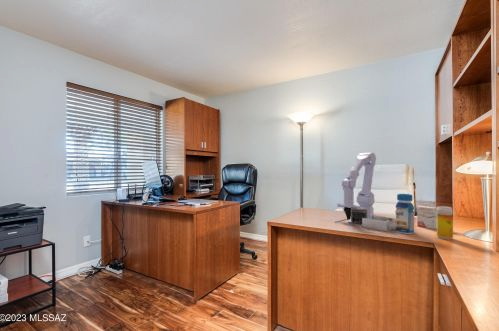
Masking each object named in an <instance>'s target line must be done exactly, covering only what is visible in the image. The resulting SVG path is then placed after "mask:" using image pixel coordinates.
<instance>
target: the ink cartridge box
mask: <svg viewBox="0 0 499 331" xmlns="http://www.w3.org/2000/svg"><path fill="white" fill-rule="evenodd" d="M416 209H417V210H416V211H417V216H416V217H417V218H416V223H417V227H419V228H427V229H433V230H434V229H437V202H436V201H432V200H431V201H430V200H419V201H418V206H417V208H416Z"/></svg>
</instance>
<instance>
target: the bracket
mask: <svg viewBox="0 0 499 331" xmlns="http://www.w3.org/2000/svg"><path fill="white" fill-rule="evenodd" d="M361 227H362V228H366V229H371V230H372V229H373V230H379V231H383V232H389V231H391V230H394V229H396V217H390V216H382V215H372V219H367V218H362V224H361ZM393 228H394V229H393Z"/></svg>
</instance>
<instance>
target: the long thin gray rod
mask: <svg viewBox="0 0 499 331" xmlns="http://www.w3.org/2000/svg"><path fill="white" fill-rule="evenodd" d="M342 221H347V218H344V219H341V220H336V221H334V223H335V224H336V223H339V222H342Z"/></svg>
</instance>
